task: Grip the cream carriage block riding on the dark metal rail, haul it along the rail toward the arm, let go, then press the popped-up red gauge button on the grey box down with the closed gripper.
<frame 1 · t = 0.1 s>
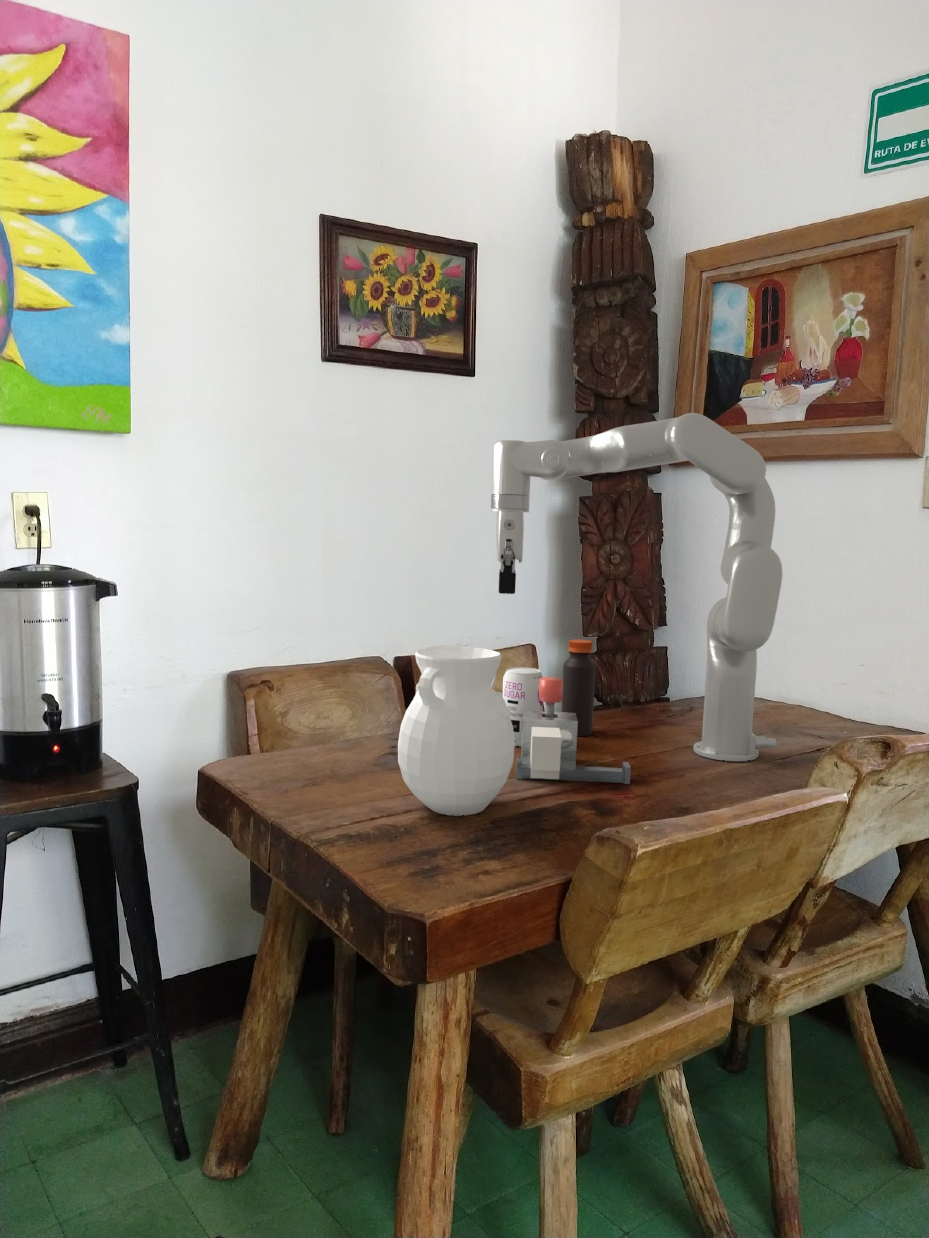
hand: (506, 591, 183), 31 cm above the table, tool pointing down, fingers open, 9 cm apart
carriage: (545, 753, 164), point 4 cm above the table, slide at 5.0 cm
bottle: (576, 733, 198), on the table
pitcher: (454, 807, 147), on the table
grey box: (547, 762, 174), on the table
rail: (572, 778, 164), on the table
supplement can: (520, 743, 189), on the table
gauge button: (550, 700, 173), point 12 cm above the table, slide at 0.0 cm
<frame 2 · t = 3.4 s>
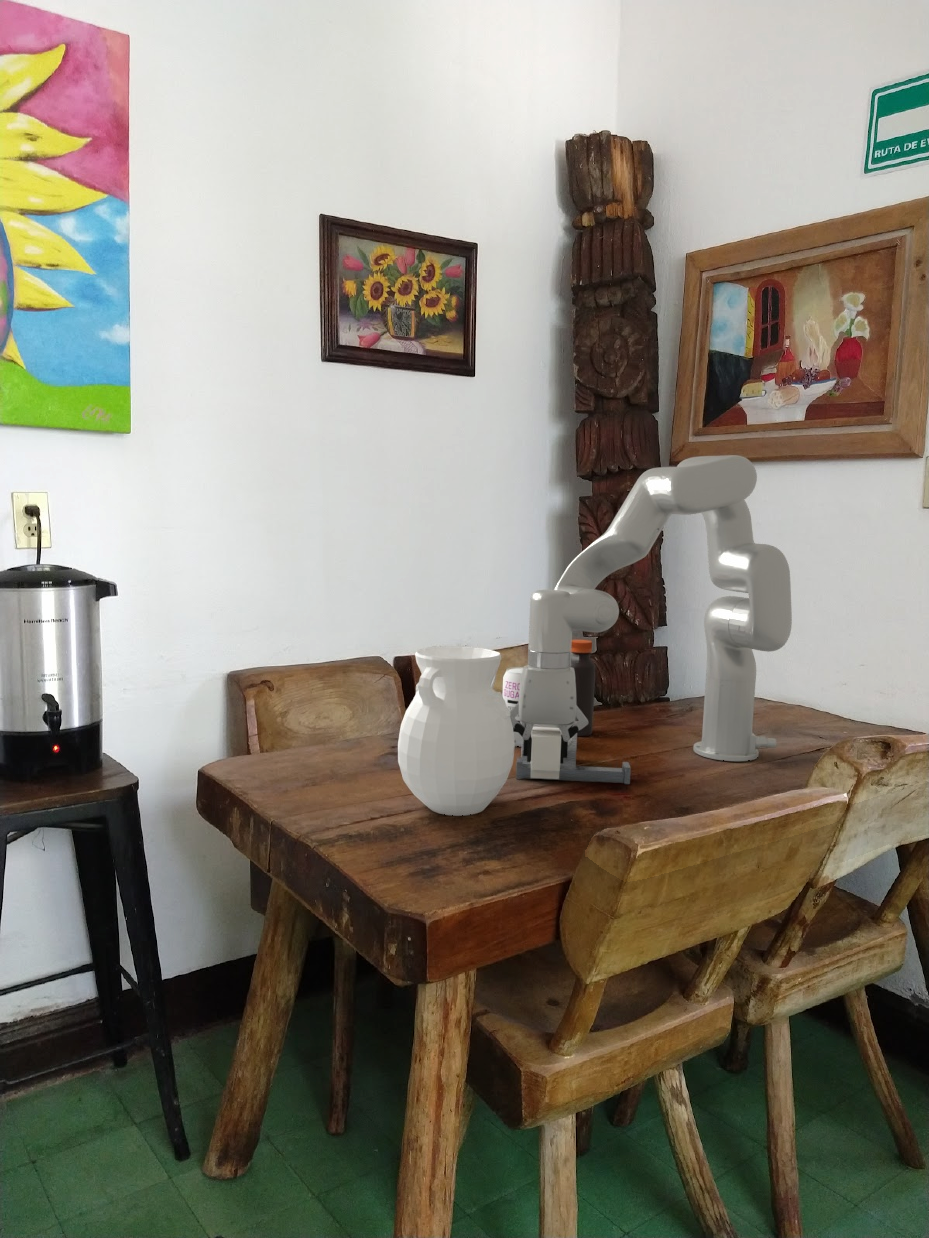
hand: (544, 759, 164), 3 cm above the table, tool pointing down, fingers closed on carriage, 5 cm apart
carriage: (545, 753, 164), point 4 cm above the table, slide at 5.0 cm, touching gripper
everything else where it was.
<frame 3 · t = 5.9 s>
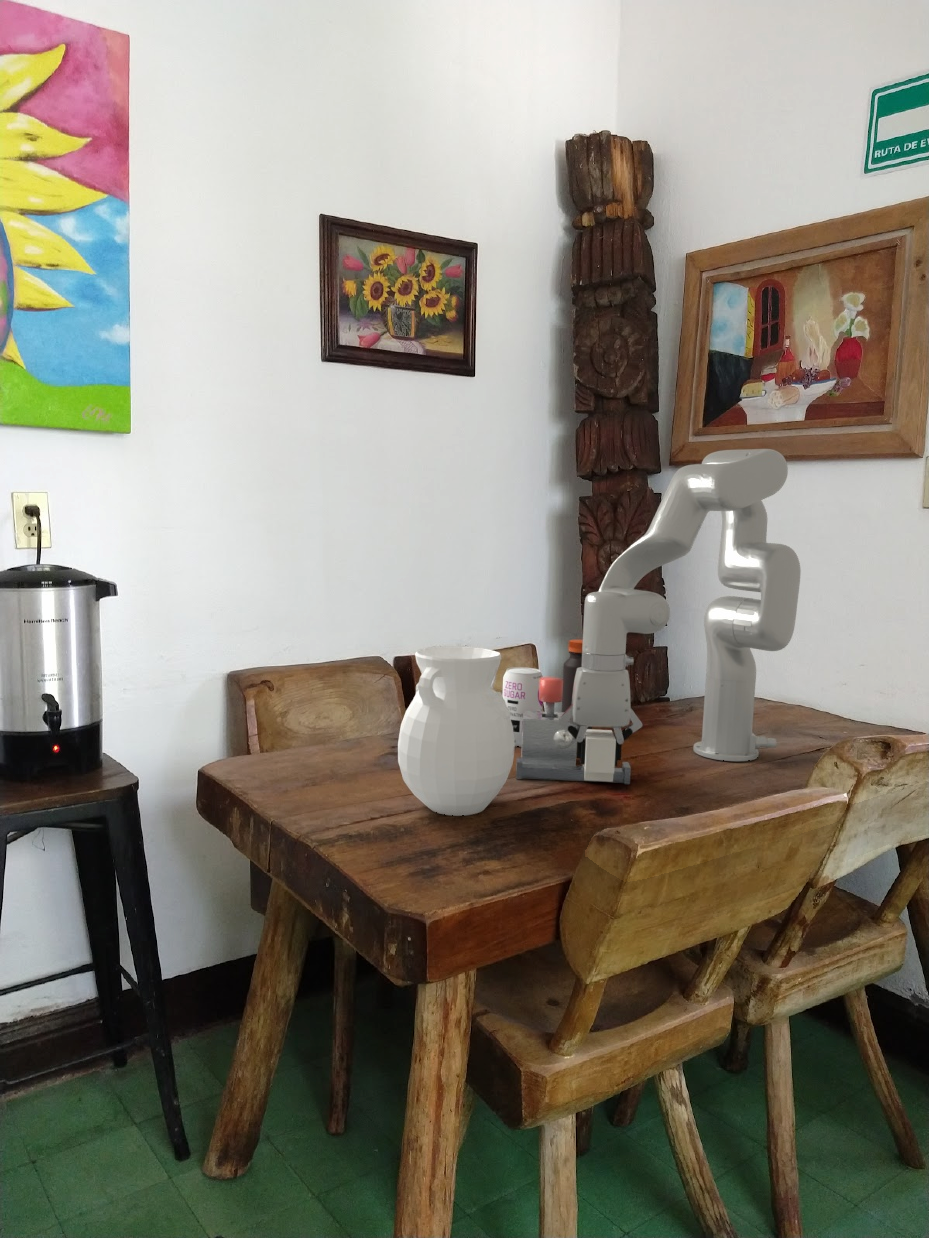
hand: (598, 762, 164), 3 cm above the table, tool pointing down, fingers closed on carriage, 5 cm apart
carriage: (598, 755, 164), point 4 cm above the table, slide at -4.5 cm, touching gripper
everything else where it was.
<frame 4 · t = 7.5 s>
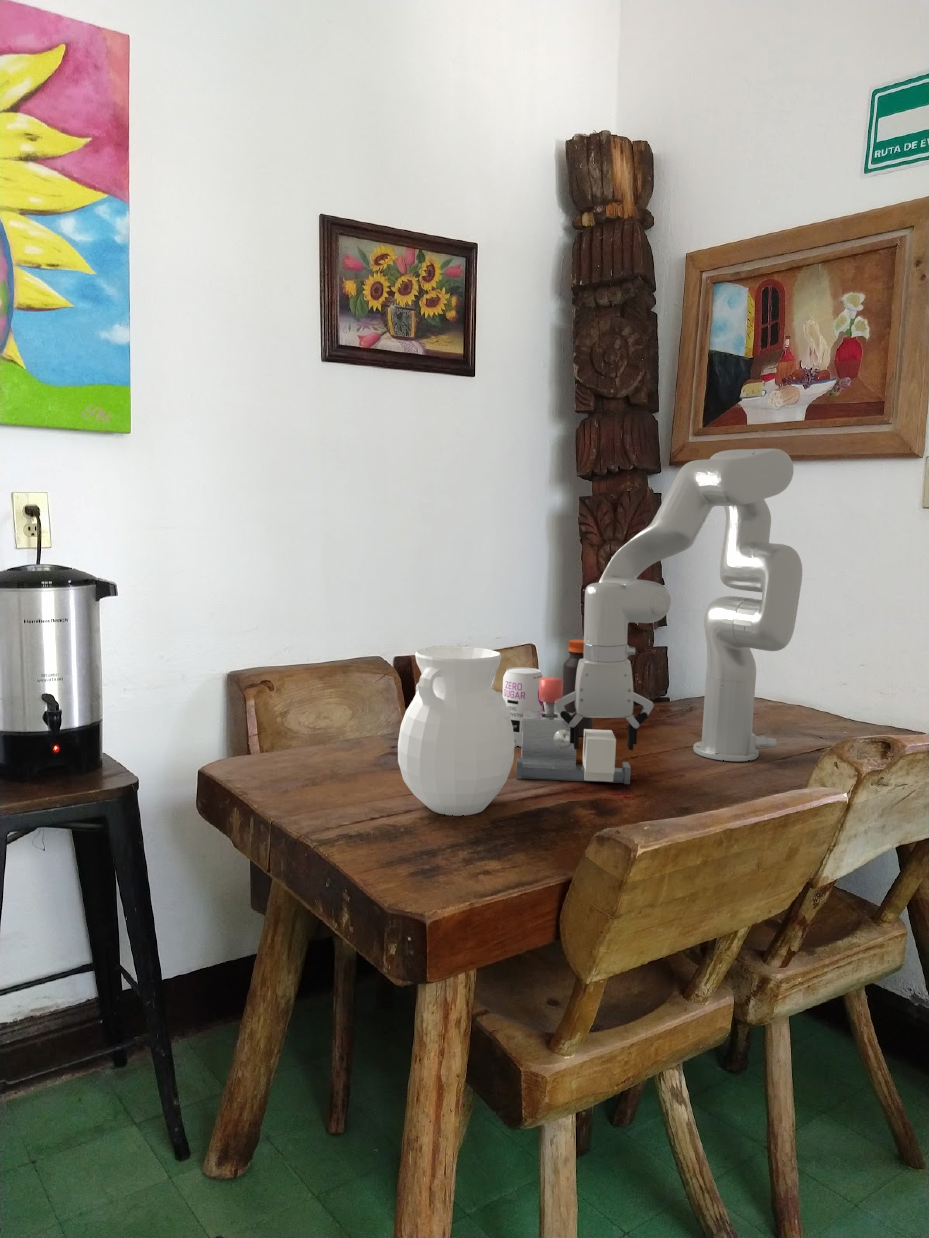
hand: (602, 747, 164), 6 cm above the table, tool pointing down, fingers open, 9 cm apart
carriage: (598, 755, 164), point 4 cm above the table, slide at -4.5 cm
everything else where it was.
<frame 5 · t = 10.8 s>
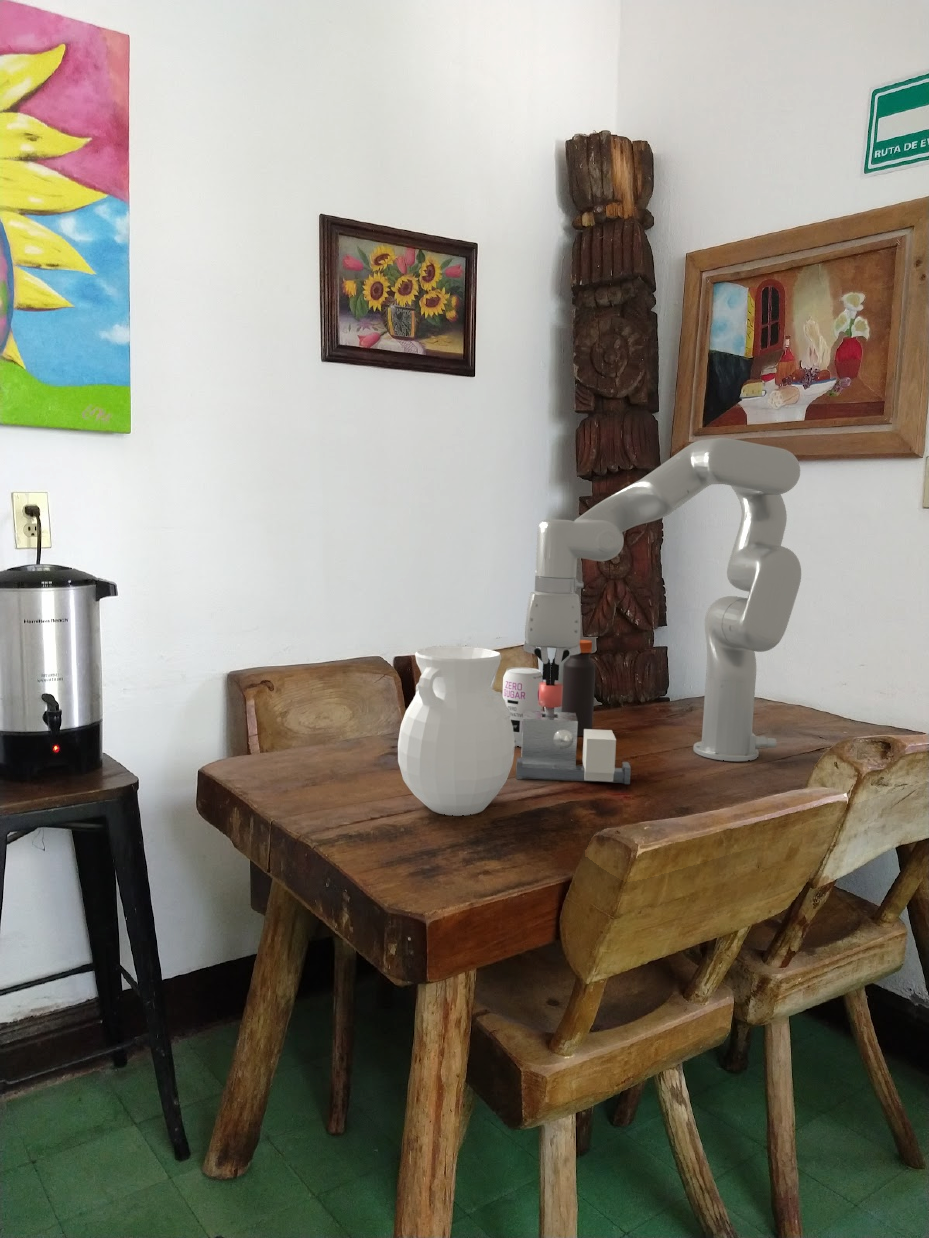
hand: (550, 683, 173), 15 cm above the table, tool pointing down, fingers closed
gauge button: (550, 704, 173), point 11 cm above the table, slide at 0.9 cm, touching gripper
everything else where it was.
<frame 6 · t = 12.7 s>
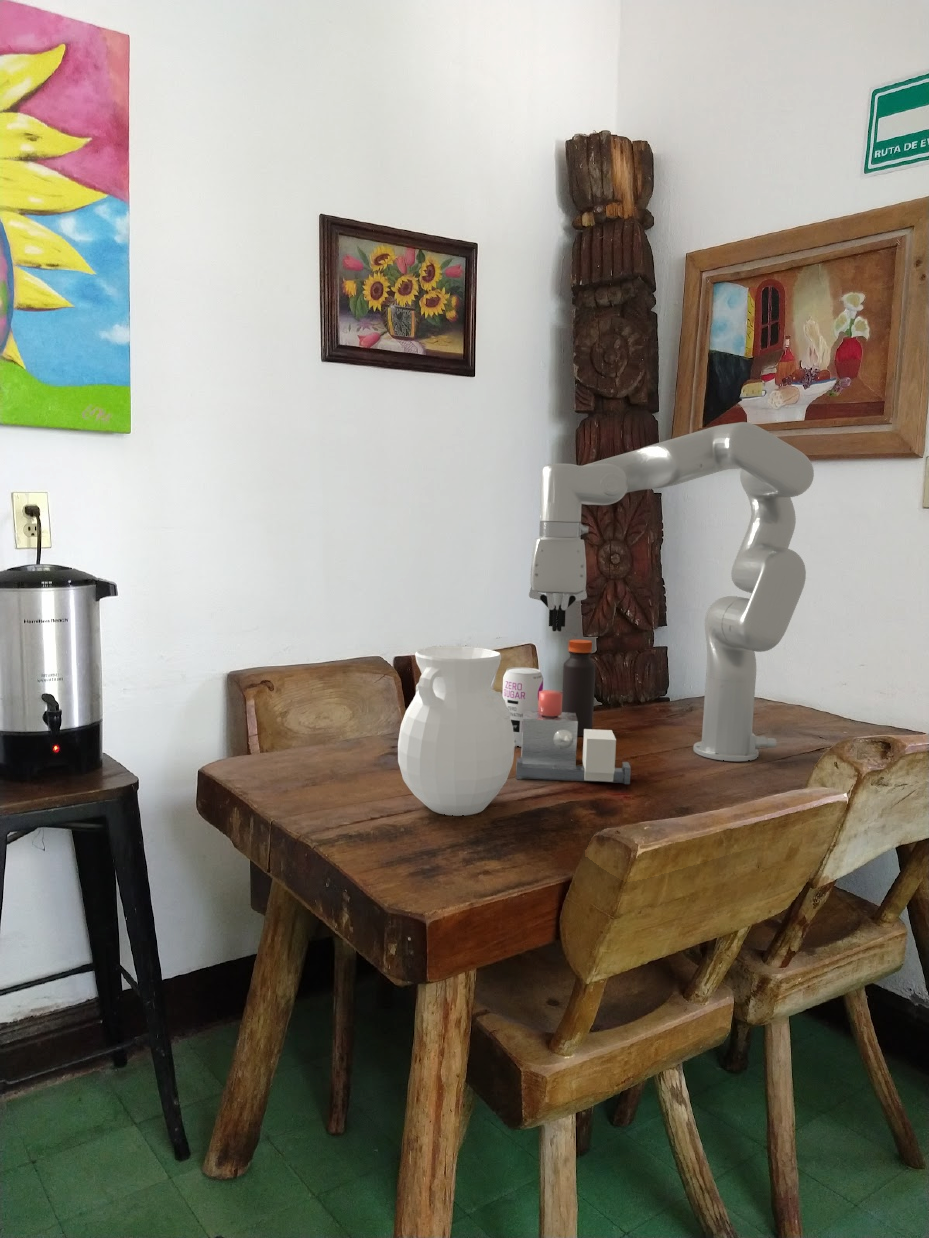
hand: (556, 630, 172), 25 cm above the table, tool pointing down, fingers closed
gauge button: (549, 713, 173), point 9 cm above the table, slide at 2.6 cm
everything else where it was.
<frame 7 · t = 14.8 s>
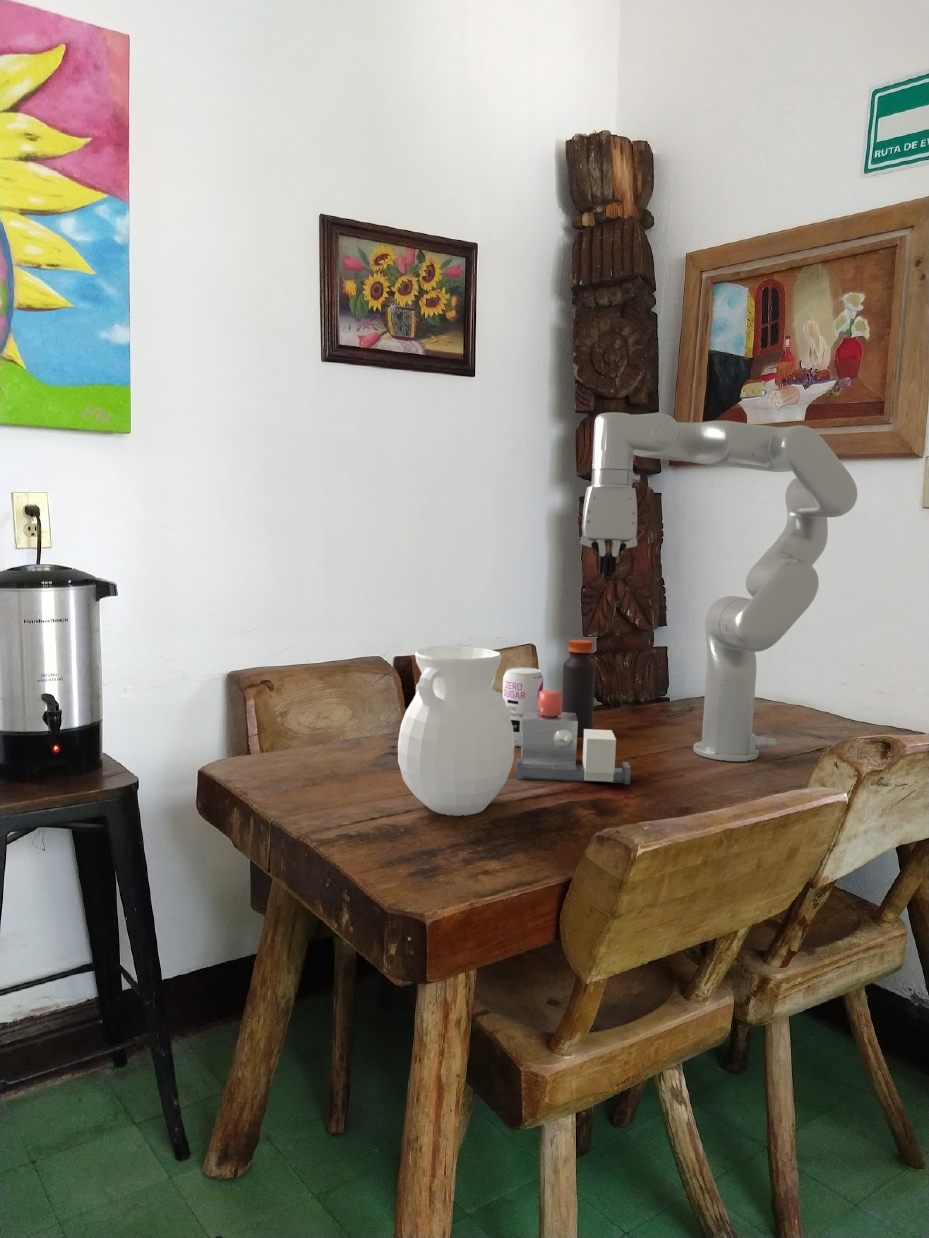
hand: (606, 577, 176), 35 cm above the table, tool pointing down, fingers closed
nothing on the table moved.
at the end: carriage slide at -4.5 cm; gauge button slide at 2.6 cm; the gripper is holding nothing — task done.
